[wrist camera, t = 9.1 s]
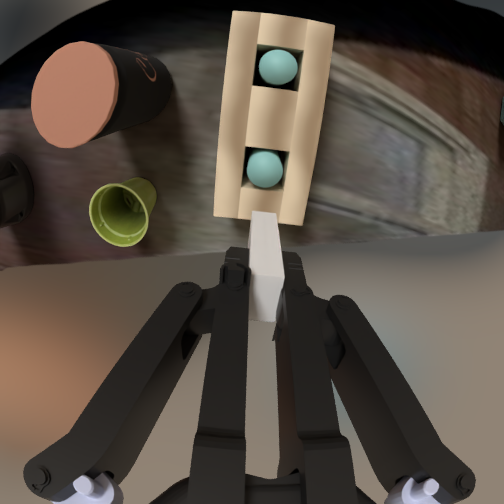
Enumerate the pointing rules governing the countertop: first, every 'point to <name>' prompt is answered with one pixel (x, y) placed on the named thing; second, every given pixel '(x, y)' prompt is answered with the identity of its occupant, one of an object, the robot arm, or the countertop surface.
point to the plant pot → (123, 211)
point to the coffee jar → (96, 92)
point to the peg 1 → (277, 68)
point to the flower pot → (502, 112)
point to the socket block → (271, 114)
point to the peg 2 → (264, 167)
